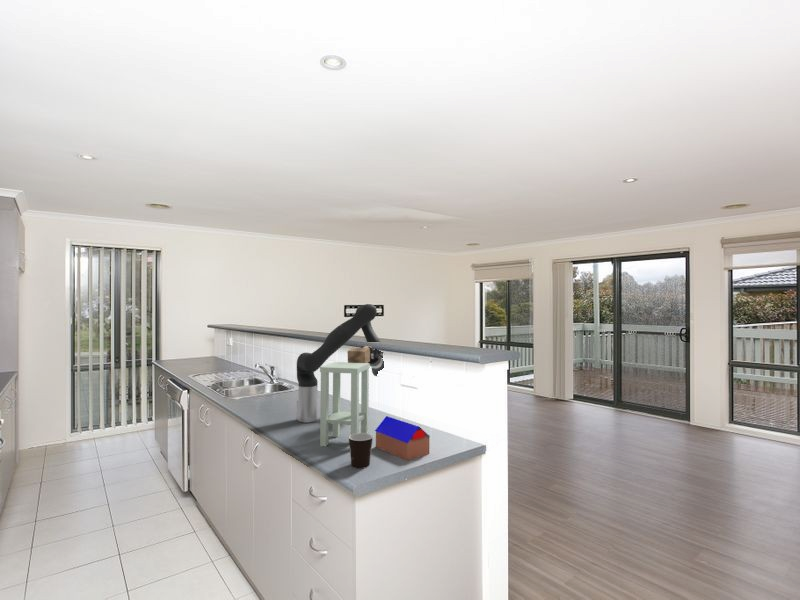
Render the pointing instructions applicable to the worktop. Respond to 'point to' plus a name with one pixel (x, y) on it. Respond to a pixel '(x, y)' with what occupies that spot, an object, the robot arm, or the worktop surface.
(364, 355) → the cube on tan board
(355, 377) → the tall stand
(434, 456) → the worktop surface
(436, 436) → the worktop surface
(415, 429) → the house
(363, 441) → the dark brown cup
